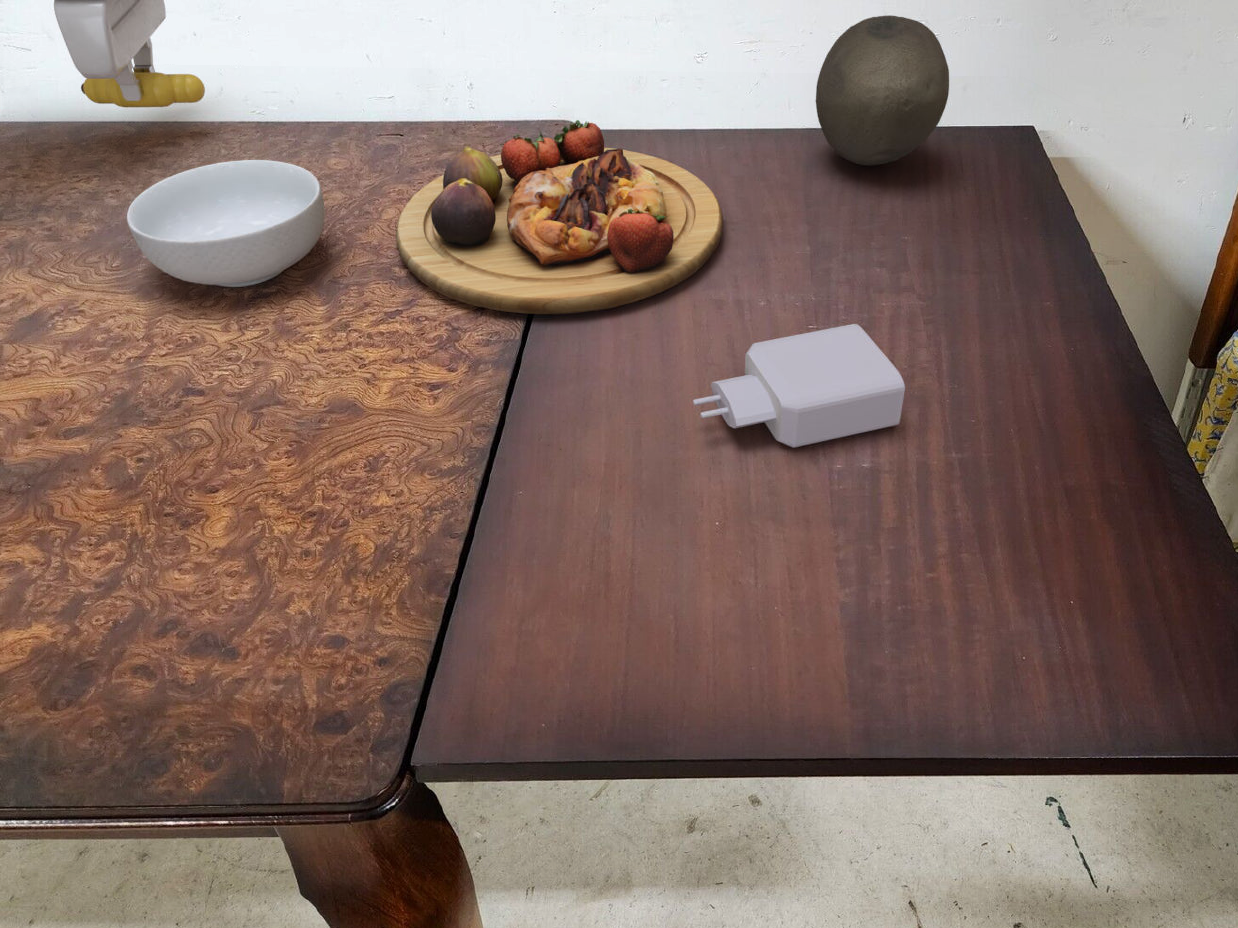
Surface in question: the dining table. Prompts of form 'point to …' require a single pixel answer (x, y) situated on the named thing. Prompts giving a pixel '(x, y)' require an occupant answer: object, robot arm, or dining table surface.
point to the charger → (812, 387)
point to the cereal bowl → (229, 221)
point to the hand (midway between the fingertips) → (141, 90)
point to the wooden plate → (558, 226)
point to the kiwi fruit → (882, 89)
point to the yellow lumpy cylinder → (147, 90)
